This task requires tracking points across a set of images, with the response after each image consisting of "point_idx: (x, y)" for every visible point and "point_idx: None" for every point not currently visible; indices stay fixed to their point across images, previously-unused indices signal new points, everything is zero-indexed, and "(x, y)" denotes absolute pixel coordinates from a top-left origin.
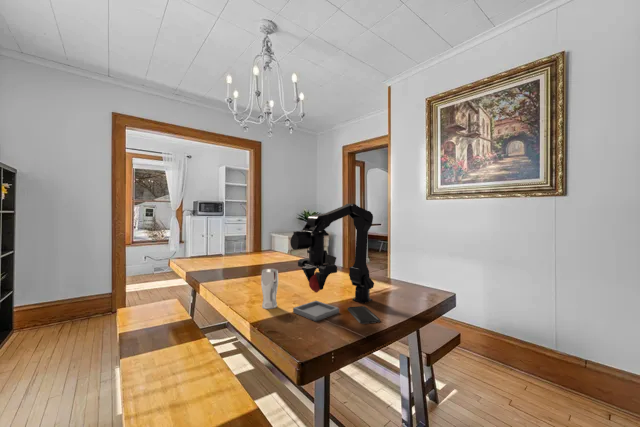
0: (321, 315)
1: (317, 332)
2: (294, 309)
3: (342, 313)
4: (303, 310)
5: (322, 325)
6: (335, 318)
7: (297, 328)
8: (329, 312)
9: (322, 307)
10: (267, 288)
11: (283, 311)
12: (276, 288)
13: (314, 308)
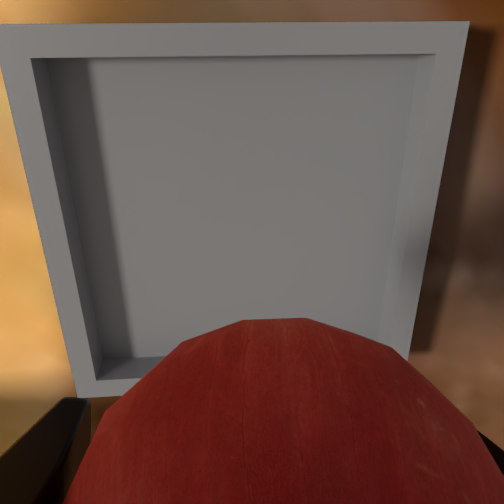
0: (411, 314)
1: (501, 435)
2: (102, 389)
3: (487, 5)
4: (139, 307)
5: (470, 355)
6: (489, 183)
7: None
8: (430, 205)
9: (204, 84)
10: None
11: (13, 406)
12: None
13: (165, 185)
